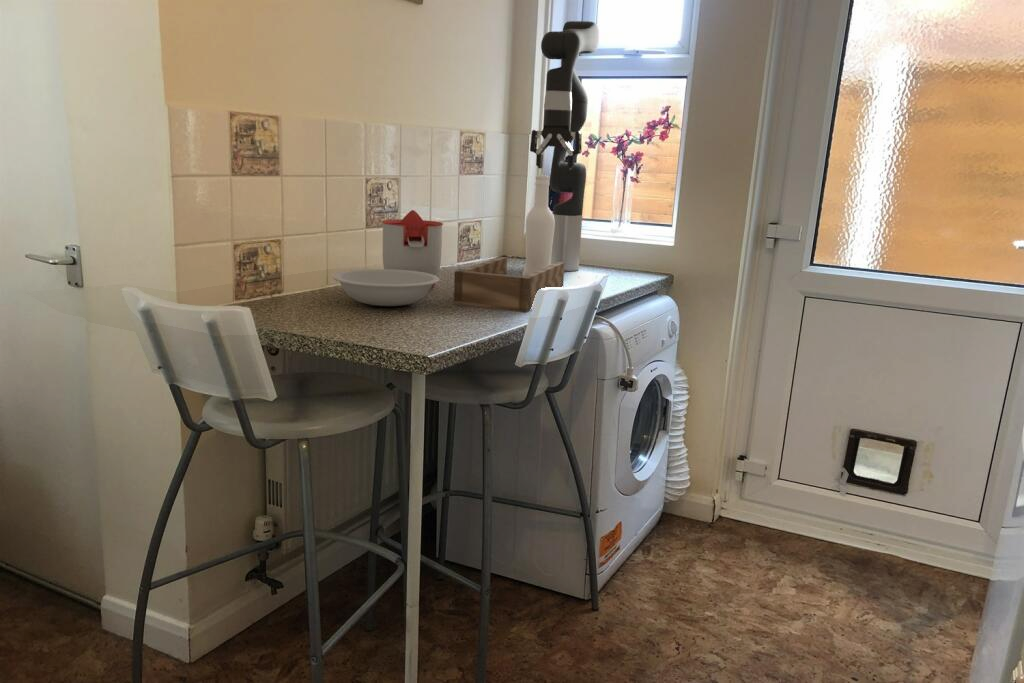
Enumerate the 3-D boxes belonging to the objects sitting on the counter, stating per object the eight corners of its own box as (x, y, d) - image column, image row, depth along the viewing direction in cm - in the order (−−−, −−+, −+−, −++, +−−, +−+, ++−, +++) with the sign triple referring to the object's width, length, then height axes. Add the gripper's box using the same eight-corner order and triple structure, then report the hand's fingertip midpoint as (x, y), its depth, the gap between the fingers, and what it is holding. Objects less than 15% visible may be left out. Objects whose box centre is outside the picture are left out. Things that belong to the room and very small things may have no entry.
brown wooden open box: (498, 285, 218) (500, 257, 217) (562, 292, 213) (564, 262, 211) (453, 304, 189) (454, 271, 187) (526, 312, 183) (528, 278, 182)
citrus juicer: (383, 293, 198) (384, 212, 193) (378, 282, 214) (379, 206, 210) (446, 294, 202) (449, 213, 197) (437, 282, 218) (438, 208, 214)
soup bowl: (460, 308, 184) (461, 280, 183) (372, 319, 168) (373, 288, 166) (397, 292, 201) (397, 266, 199) (312, 301, 184) (312, 272, 183)
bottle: (552, 284, 225) (558, 175, 218) (550, 288, 217) (557, 175, 210) (523, 282, 226) (529, 173, 219) (520, 287, 218) (526, 174, 211)
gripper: (586, 110, 222) (582, 170, 226) (537, 108, 226) (534, 167, 230) (579, 109, 215) (576, 170, 219) (529, 107, 219) (526, 168, 224)
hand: (554, 169), depth 225 cm, fingers open, 8 cm apart
